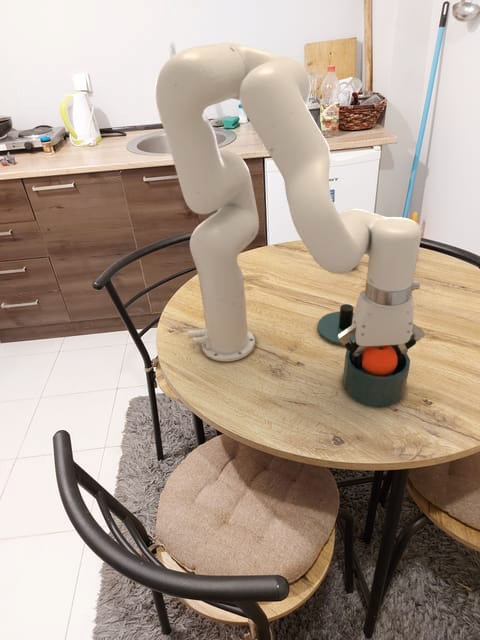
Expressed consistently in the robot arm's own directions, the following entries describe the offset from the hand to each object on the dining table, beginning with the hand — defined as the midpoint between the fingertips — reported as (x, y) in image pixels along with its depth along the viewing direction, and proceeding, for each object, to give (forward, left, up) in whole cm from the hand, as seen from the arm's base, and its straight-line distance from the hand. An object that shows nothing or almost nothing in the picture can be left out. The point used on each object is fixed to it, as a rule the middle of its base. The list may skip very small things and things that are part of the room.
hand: (375, 365), depth 84 cm
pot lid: (-2, +19, -5) cm, 20 cm away
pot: (0, 0, -5) cm, 5 cm away
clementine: (0, 0, -1) cm, 1 cm away
